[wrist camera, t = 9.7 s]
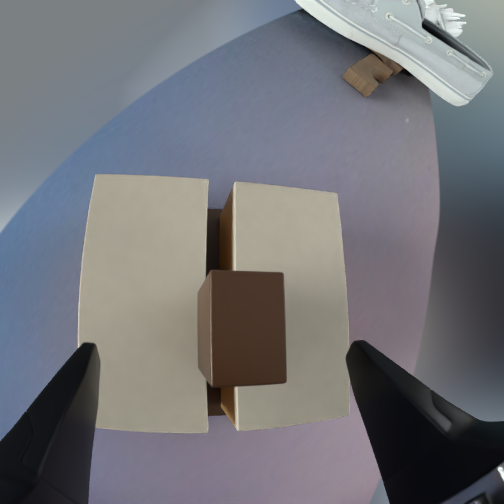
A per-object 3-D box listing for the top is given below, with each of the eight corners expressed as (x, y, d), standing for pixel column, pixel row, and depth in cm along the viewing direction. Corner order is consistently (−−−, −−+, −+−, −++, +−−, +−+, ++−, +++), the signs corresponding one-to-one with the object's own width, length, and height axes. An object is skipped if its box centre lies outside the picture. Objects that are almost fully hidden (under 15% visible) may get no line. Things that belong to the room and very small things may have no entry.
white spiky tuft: (451, 77, 29) (484, 39, 21) (374, 33, 28) (403, -15, 20) (435, 38, 33) (460, 5, 25) (368, 3, 31) (390, -37, 23)
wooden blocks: (386, 83, 23) (323, 33, 23) (370, 101, 26) (311, 54, 26) (440, 34, 34) (406, 6, 33) (431, 45, 36) (398, 17, 36)
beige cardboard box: (307, 405, 17) (351, 424, 12) (105, 409, 14) (81, 436, 9) (300, 218, 20) (337, 184, 15) (112, 207, 17) (95, 164, 13)
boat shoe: (273, 4, 24) (301, -58, 16) (299, -14, 27) (324, -63, 19) (463, 132, 27) (513, 94, 19) (459, 93, 30) (498, 59, 22)
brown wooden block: (227, 370, 16) (288, 408, 7) (190, 370, 16) (211, 414, 7) (226, 291, 17) (283, 246, 8) (190, 290, 17) (210, 242, 8)
